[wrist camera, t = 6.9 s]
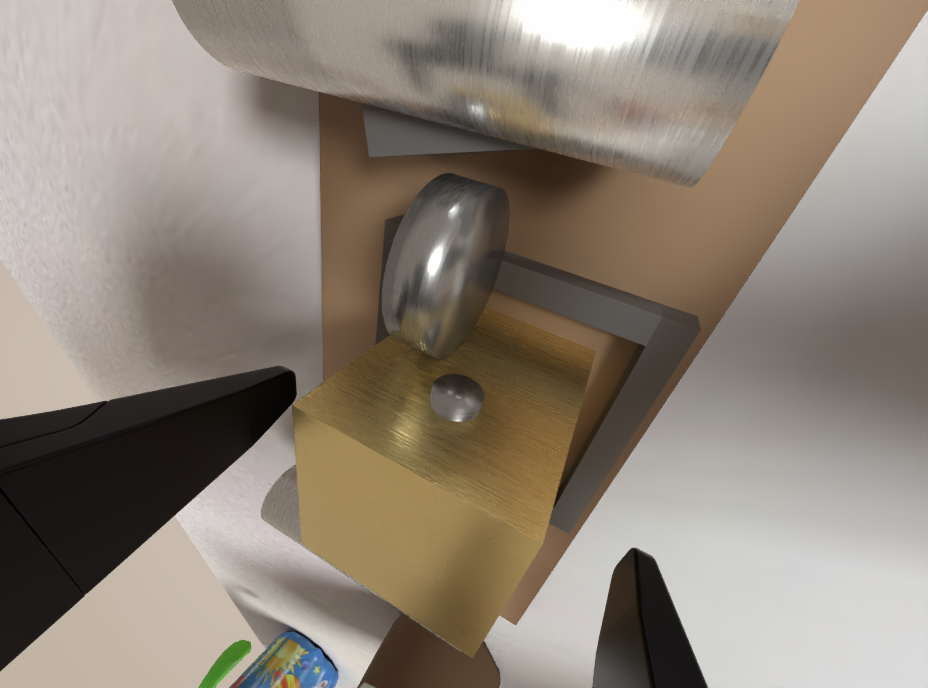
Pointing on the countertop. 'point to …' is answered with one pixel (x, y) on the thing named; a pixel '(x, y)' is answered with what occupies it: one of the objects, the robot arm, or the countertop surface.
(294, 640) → the snack cup
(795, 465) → the countertop surface
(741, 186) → the padlock latch board
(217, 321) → the countertop surface
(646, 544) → the countertop surface
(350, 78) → the shafts
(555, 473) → the block
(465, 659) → the beer bottle
